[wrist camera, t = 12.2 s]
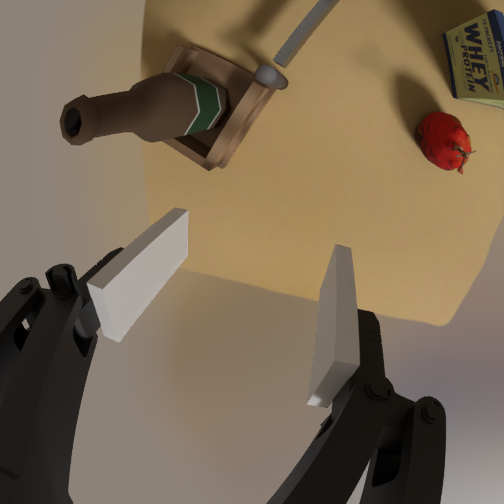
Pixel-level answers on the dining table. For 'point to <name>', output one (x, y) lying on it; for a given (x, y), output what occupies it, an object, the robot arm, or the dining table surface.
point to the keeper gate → (303, 32)
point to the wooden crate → (241, 101)
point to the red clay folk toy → (444, 141)
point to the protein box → (477, 59)
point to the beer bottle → (148, 110)
